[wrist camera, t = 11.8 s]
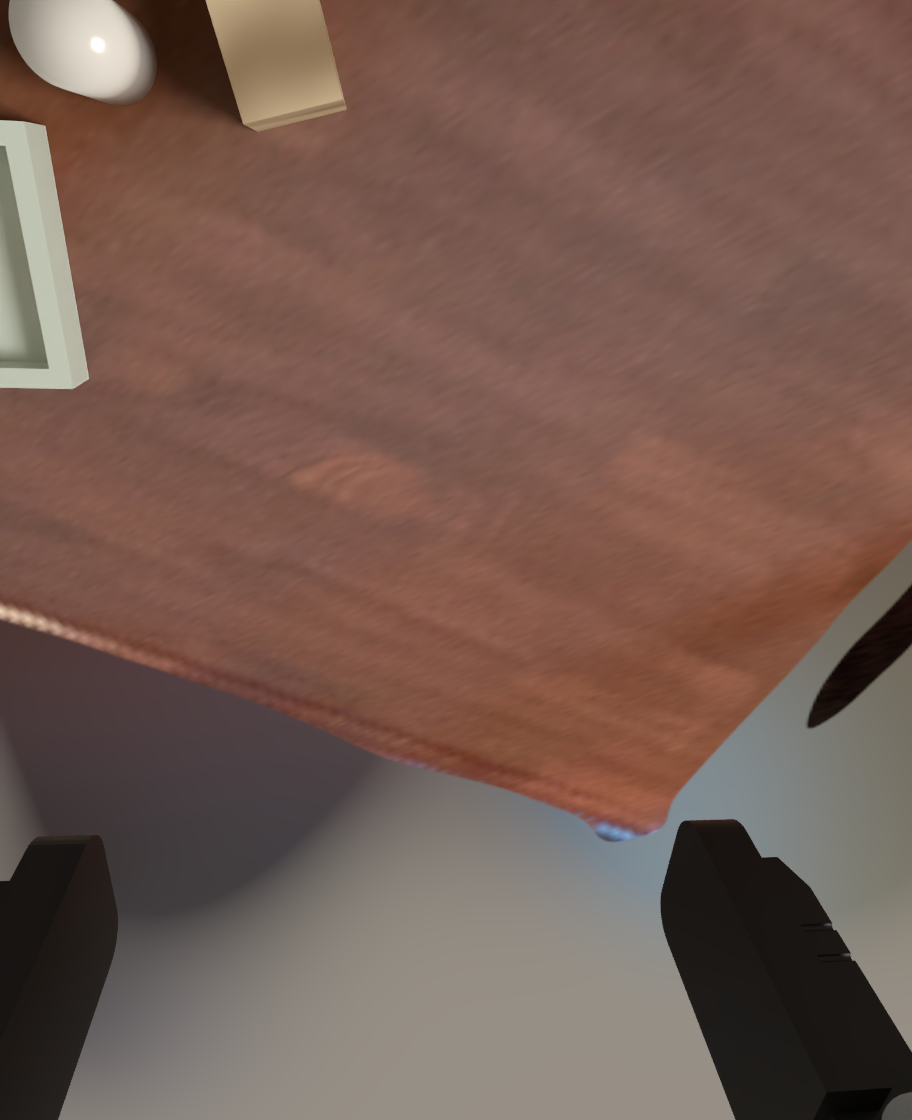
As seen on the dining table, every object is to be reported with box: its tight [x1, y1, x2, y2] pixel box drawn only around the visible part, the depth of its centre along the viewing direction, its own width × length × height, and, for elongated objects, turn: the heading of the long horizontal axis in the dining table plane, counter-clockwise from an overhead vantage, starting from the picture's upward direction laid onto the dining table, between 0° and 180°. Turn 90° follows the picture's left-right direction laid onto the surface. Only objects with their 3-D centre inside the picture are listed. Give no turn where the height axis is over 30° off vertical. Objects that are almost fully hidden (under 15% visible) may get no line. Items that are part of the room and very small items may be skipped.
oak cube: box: [206, 0, 347, 132], centre depth 33 cm, size 4×4×4 cm
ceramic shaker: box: [9, 0, 157, 106], centre depth 32 cm, size 4×4×6 cm
